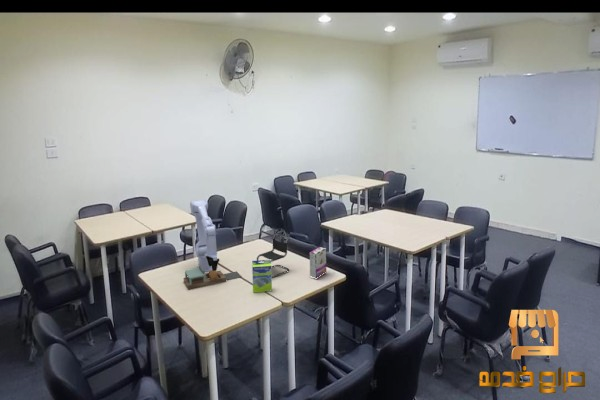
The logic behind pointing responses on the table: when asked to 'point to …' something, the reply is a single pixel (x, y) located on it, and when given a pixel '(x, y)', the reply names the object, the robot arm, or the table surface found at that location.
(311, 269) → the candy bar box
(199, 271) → the sliding cover
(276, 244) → the chair
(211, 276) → the terracotta block
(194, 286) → the brown flat rectangular frame
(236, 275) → the rubber mat
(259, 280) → the box
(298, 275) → the table surface
